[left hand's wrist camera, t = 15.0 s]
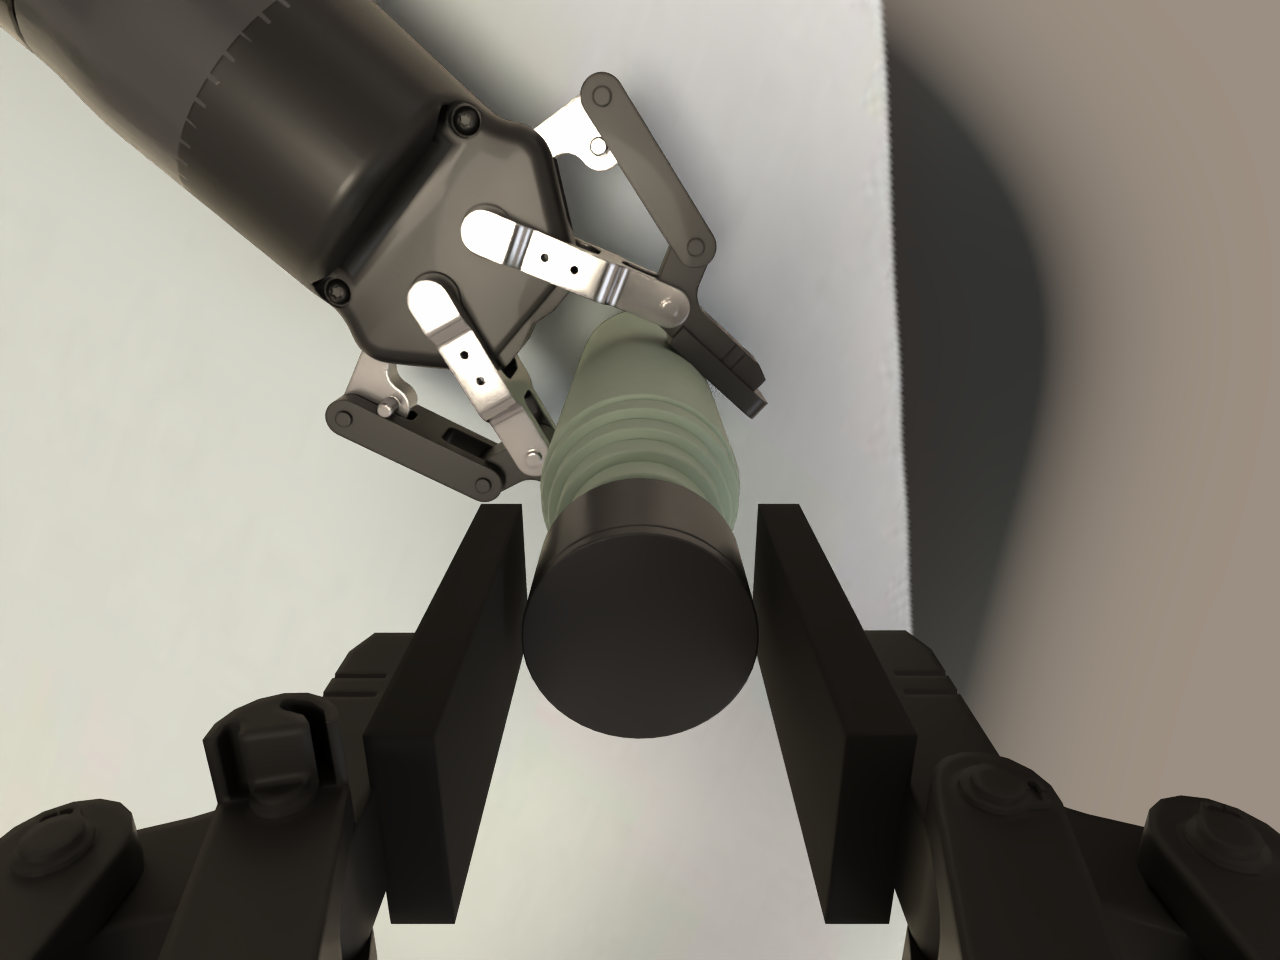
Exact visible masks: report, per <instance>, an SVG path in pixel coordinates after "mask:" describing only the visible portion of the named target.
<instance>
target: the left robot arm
mask: <svg viewBox="0 0 1280 960" xmlns="http://www.w3.org/2000/svg"><path fill="white" fill-rule="evenodd" d="M753 603H754V607H755V610H756V614H757V619H758V626H759V645H758V651H757V657H758V661H759V665H760V669H761V673H762V676H763V680H764V684H765V688H766V692H767V696H768V700H769V704H770V708H771V712H772V716H773V720H774V724H775V728H776V732H777V735H778V739H779V743H780V747H781V751H782V755H783V759H784V763H785V767H786V771H787V775H788V779H789V783H790V787H791V790H792V794H793V798H794V802H795V806H796V810H797V814H798V818H799V822H800V826H801V830H802V834H803V838H804V842H805V846H806V849H807V853H808V857H809V861H810V865H811V869H812V873H813V877H814V881H815V885H816V889H817V893H818V897H819V901H820V904H821V908H822V912H823V916H824V920H825V924H889V921H890V914H891V908H892V901H893V894H894V888H895V891H896V894H897V896H898V899H899V902H900V904H901V907H902V910H903V913H904V915H905V918H906V921H907V924H908V926H907V932H906V938H905V944H904V950H903V956H902V960H1280V834H1279V833H1278V832H1277V831H1275V830H1274V829H1273V828H1271V827H1270V826H1269V825H1268V824H1266V823H1264V822H1262V821H1260V820H1258V819H1257V818H1255V817H1253V816H1251V815H1249V814H1247V813H1245V812H1243V811H1241V810H1239V809H1238V808H1235V807H1231V806H1228V805H1226V804H1222V803H1219V802H1216V801H1213V800H1210V799H1206V798H1198V797H1190V796H1176V797H1170V798H1165V799H1160V800H1159V801H1158V802H1157V803H1156V804H1155V805H1154V806H1153V807H1152V808H1150V810H1149V813H1148V816H1147V820H1146V823H1145V826H1144V827H1142V826H1137V825H1133V824H1129V823H1124V822H1120V821H1116V820H1111V819H1107V818H1102V817H1098V816H1094V815H1089V814H1086V813H1082V812H1079V811H1076V810H1072V809H1069V808H1066V807H1064V806H1063V803H1062V802H1061V800H1060V799H1059V797H1058V796H1057V794H1056V792H1055V791H1054V789H1053V788H1052V786H1051V785H1050V784H1049V783H1047V782H1046V781H1045V780H1043V779H1042V778H1041V777H1040V776H1039V775H1037V774H1036V773H1035V772H1034V771H1032V770H1031V769H1029V768H1027V767H1025V766H1023V765H1021V764H1019V763H1017V762H1015V761H1013V760H1010V759H1008V758H1004V757H1001V756H999V754H998V753H997V751H996V750H995V748H994V747H993V745H992V743H991V742H990V740H989V739H988V737H987V736H986V734H985V732H984V731H983V729H982V728H981V726H980V725H979V723H978V722H977V720H976V719H975V717H974V715H973V714H972V712H971V711H970V709H969V708H968V706H967V704H966V703H965V701H964V700H963V698H962V697H961V695H960V694H957V689H956V687H955V686H954V684H953V683H952V681H951V679H950V678H949V676H946V675H945V670H944V669H943V667H942V665H941V664H940V662H939V661H938V659H937V658H936V656H935V654H934V653H933V651H932V650H931V649H930V648H929V647H927V646H926V645H925V644H923V643H922V642H920V641H919V640H918V639H916V638H915V637H914V636H912V635H911V634H910V633H908V632H907V631H906V630H863V628H862V626H861V624H860V622H859V620H858V618H857V616H856V614H855V612H854V610H853V609H852V607H851V605H850V603H849V601H848V599H847V597H846V595H845V593H844V591H843V589H842V587H841V585H840V583H839V581H838V579H837V577H836V575H835V573H834V572H833V570H832V568H831V566H830V564H829V562H828V560H827V558H826V556H825V554H824V552H823V550H822V548H821V546H820V544H819V542H818V540H817V538H816V537H815V535H814V533H813V531H812V529H811V527H810V525H809V523H808V521H807V519H806V517H805V515H804V513H803V511H802V509H801V507H800V505H799V504H758V517H757V534H756V552H755V569H754V586H753ZM526 604H527V586H526V569H525V552H524V534H523V517H522V504H481V505H480V507H479V509H478V511H477V513H476V515H475V517H474V519H473V521H472V523H471V525H470V527H469V529H468V531H467V533H466V535H465V537H464V538H463V540H462V542H461V544H460V546H459V548H458V550H457V552H456V554H455V556H454V558H453V560H452V562H451V564H450V566H449V568H448V570H447V572H446V574H445V575H444V577H443V579H442V581H441V583H440V585H439V587H438V589H437V591H436V593H435V595H434V597H433V599H432V601H431V603H430V605H429V607H428V609H427V610H426V612H425V614H424V616H423V618H422V620H421V622H420V624H419V626H418V628H417V630H416V632H415V633H374V634H373V635H371V636H370V637H369V638H367V639H366V640H364V641H363V642H362V643H360V644H359V645H358V646H356V647H355V648H354V649H352V650H351V651H350V652H349V653H348V654H347V656H346V658H345V659H344V661H343V662H342V664H341V665H340V667H339V669H338V670H337V672H336V673H335V678H332V680H331V681H330V683H329V684H328V686H327V687H326V689H325V691H324V692H323V693H324V694H323V697H321V696H317V695H314V694H310V693H283V694H279V695H274V696H270V697H266V698H261V699H258V700H256V701H253V702H251V703H249V704H246V705H244V706H242V707H239V708H237V709H235V710H233V711H232V712H231V713H229V714H228V715H226V716H225V717H224V718H222V719H221V720H219V721H218V722H217V723H215V724H214V726H213V727H212V728H211V729H210V731H209V732H208V733H207V735H206V736H205V737H204V739H203V744H204V748H205V753H206V757H207V761H208V765H209V769H210V773H211V777H212V782H213V786H214V790H215V794H216V798H217V802H218V805H217V807H216V810H215V811H212V812H208V813H205V814H202V815H199V816H195V817H192V818H187V819H183V820H179V821H174V822H170V823H166V824H161V825H157V826H153V827H148V828H144V829H140V830H136V826H135V823H134V819H133V816H132V813H131V812H130V811H129V810H128V809H127V808H126V807H125V806H124V805H122V804H121V803H120V802H115V801H110V800H104V799H94V800H85V801H77V802H72V803H69V804H66V805H63V806H60V807H56V808H53V809H50V810H47V811H44V812H42V813H40V814H38V815H37V816H35V817H33V818H31V819H29V820H27V821H25V822H23V823H21V824H20V825H18V826H16V827H14V828H13V829H12V830H10V831H9V832H8V833H6V834H5V835H4V836H3V837H1V838H0V960H377V952H376V945H375V938H374V932H373V925H374V922H375V919H376V917H377V914H378V911H379V908H380V906H381V903H382V900H383V897H384V895H385V892H386V894H387V901H388V908H389V914H390V921H391V924H455V920H456V916H457V912H458V908H459V905H460V901H461V897H462V893H463V889H464V885H465V881H466V877H467V873H468V869H469V865H470V861H471V857H472V853H473V849H474V846H475V842H476V838H477V834H478V830H479V826H480V822H481V818H482V814H483V810H484V806H485V802H486V798H487V794H488V791H489V787H490V783H491V779H492V775H493V771H494V767H495V763H496V759H497V755H498V751H499V747H500V743H501V739H502V735H503V732H504V728H505V724H506V720H507V716H508V712H509V708H510V704H511V700H512V696H513V692H514V688H515V684H516V680H517V676H518V673H519V669H520V665H521V661H522V657H523V648H522V640H521V635H522V622H523V616H524V611H525V608H526Z"/></svg>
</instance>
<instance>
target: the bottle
mask: <svg viewBox="0 0 1280 960" xmlns="http://www.w3.org/2000/svg"><path fill="white" fill-rule="evenodd" d="M629 478H650V479H658V480H663V481H668V482H671V483H674V484H677V485H680V486H683V487H685V488H687V489H689V490H691V491H693V492H695V493H696V494H698V495H699V496H701V497H703V498H704V499H705V500H707V501H708V502H709V503H710V504H711V505H712V506H714V507H715V508H716V510H717V511H718V512H719V513H720V514H721V515H722V516H723V518H724V519H725V521H726V522H727V524H728V525H729V527H730V528H731V531H732V530H733V527H734V524H735V521H736V517H737V511H738V499H739V483H740V482H739V473H738V467H737V464H736V460H735V457H734V454H733V451H732V448H731V445H730V443H729V440H728V437H727V434H726V432H725V429H724V426H723V423H722V421H721V418H720V415H719V412H718V410H717V407H716V404H715V401H714V399H713V396H712V393H711V390H710V388H709V385H708V382H707V379H706V378H705V377H704V376H703V375H702V374H701V373H700V372H698V370H697V369H696V368H695V367H694V366H692V365H691V364H690V363H689V362H688V361H686V360H685V359H684V358H683V357H682V356H681V355H680V354H679V353H678V352H676V351H675V350H674V349H673V348H672V347H671V346H670V345H669V344H668V340H667V334H666V332H665V331H664V330H663V329H662V328H661V327H660V326H659V325H657V324H654V323H652V322H650V321H647V320H645V319H642V318H640V317H638V316H635V315H633V314H630V313H628V312H623V313H620V314H617V315H615V316H613V317H611V318H609V319H608V320H606V321H605V322H603V323H602V324H601V325H600V326H599V327H598V328H597V329H596V330H595V331H594V332H593V334H592V335H591V336H590V338H589V340H588V342H587V344H586V346H585V348H584V351H583V354H582V357H581V359H580V362H579V365H578V368H577V371H576V373H575V376H574V379H573V382H572V385H571V387H570V390H569V393H568V396H567V399H566V401H565V404H564V407H563V410H562V412H561V415H560V418H559V421H558V424H557V426H556V429H555V432H554V435H553V438H552V440H551V443H550V446H549V449H548V452H547V454H546V457H545V460H544V463H543V468H542V473H541V485H540V487H541V500H542V512H543V516H544V521H545V524H546V527H547V530H548V531H549V529H550V527H551V526H552V524H553V522H554V521H555V520H556V518H557V517H558V516H559V514H560V513H561V512H562V511H563V510H564V509H565V508H566V507H567V506H568V505H569V504H570V503H571V502H573V501H574V500H575V499H576V498H578V497H579V496H581V495H582V494H584V493H586V492H587V491H589V490H591V489H593V488H596V487H598V486H600V485H602V484H606V483H609V482H613V481H617V480H623V479H629Z"/></svg>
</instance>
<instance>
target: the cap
mask: <svg viewBox="0 0 1280 960" xmlns="http://www.w3.org/2000/svg"><path fill="white" fill-rule="evenodd" d="M521 640H522V648H523V654H524V658H525V662H526V665H527V667H528V670H529V672H530V674H531V677H532V679H533V680H534V682H535V684H536V685H537V687H538V688H539V690H540V691H541V692H542V694H543V695H544V696H545V697H546V699H547V700H548V701H549V702H550V703H551V704H552V705H553V706H554V707H555V708H557V709H558V710H559V711H560V712H562V713H563V714H564V715H566V716H567V717H568V718H570V719H572V720H573V721H575V722H577V723H579V724H580V725H582V726H585V727H587V728H590V729H592V730H594V731H597V732H601V733H604V734H607V735H612V736H618V737H623V738H637V739H639V738H656V737H663V736H669V735H672V734H676V733H680V732H683V731H686V730H688V729H691V728H694V727H696V726H698V725H700V724H702V723H703V722H705V721H707V720H709V719H710V718H712V717H713V716H715V715H716V714H718V713H719V712H720V711H721V710H723V709H724V708H725V707H726V706H727V705H728V704H729V703H730V702H731V701H732V700H733V699H734V698H735V697H736V695H737V694H738V693H739V692H740V690H741V689H742V687H743V686H744V684H745V683H746V681H747V679H748V677H749V675H750V673H751V671H752V669H753V666H754V663H755V660H756V656H757V651H758V645H759V626H758V619H757V614H756V610H755V607H754V603H753V599H752V596H751V592H750V589H749V585H748V581H747V578H746V574H745V571H744V567H743V563H742V560H741V556H740V553H739V549H738V546H737V543H736V539H735V537H734V535H733V533H732V531H731V528H730V527H729V525H728V524H727V522H726V521H725V519H724V518H723V516H722V515H721V514H720V513H719V512H718V511H717V510H716V508H715V507H714V506H712V505H711V504H710V503H709V502H708V501H707V500H705V499H704V498H703V497H701V496H699V495H698V494H696V493H695V492H693V491H691V490H689V489H687V488H685V487H683V486H680V485H677V484H674V483H671V482H668V481H663V480H658V479H650V478H629V479H623V480H617V481H613V482H609V483H606V484H602V485H600V486H598V487H596V488H593V489H591V490H589V491H587V492H586V493H584V494H582V495H581V496H579V497H578V498H576V499H575V500H574V501H573V502H571V503H570V504H569V505H568V506H567V507H566V508H565V509H564V510H563V511H562V512H561V513H560V514H559V516H558V517H557V518H556V520H555V521H554V522H553V524H552V526H551V527H550V529H549V531H548V533H547V535H546V538H545V541H544V543H543V546H542V550H541V553H540V557H539V561H538V564H537V568H536V572H535V575H534V579H533V582H532V586H531V590H530V593H529V597H528V600H527V604H526V608H525V611H524V616H523V622H522V635H521Z"/></svg>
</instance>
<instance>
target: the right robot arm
mask: <svg viewBox="0 0 1280 960" xmlns="http://www.w3.org/2000/svg"><path fill="white" fill-rule="evenodd" d="M0 27H2V28H3V29H4V30H5V31H7V32H8V33H9V34H10V35H11V36H13V37H14V38H15V39H16V40H18V41H19V42H20V43H21V44H22V45H24V46H25V47H26V48H27V49H29V50H30V51H31V52H33V53H34V54H36V55H37V56H38V57H39V58H40V59H41V60H42V61H43V62H44V63H45V64H46V65H47V66H49V67H50V68H51V69H52V70H53V71H54V72H55V73H56V74H57V75H58V76H59V77H60V78H61V79H62V80H63V81H64V82H65V83H66V84H67V85H68V86H69V87H70V88H71V89H72V90H73V91H74V92H75V93H76V94H77V95H78V96H79V97H80V99H81V100H82V101H83V102H84V103H85V104H86V105H87V106H88V107H89V108H91V109H92V110H93V111H94V112H95V113H96V114H97V115H98V116H99V117H100V118H101V119H102V120H103V121H104V122H105V123H106V124H107V125H108V126H109V127H111V128H112V129H113V130H114V131H115V132H116V133H117V134H119V135H120V136H121V137H122V138H123V139H124V140H126V141H127V142H128V143H129V144H131V145H132V146H133V147H134V148H136V149H137V150H138V151H139V152H141V153H142V154H143V155H144V156H145V157H147V158H148V159H149V160H150V161H152V162H153V163H154V164H155V165H156V166H158V167H159V168H160V169H161V170H163V171H164V172H165V173H166V174H168V175H169V176H170V177H171V178H172V179H174V180H175V181H176V182H177V183H179V184H180V185H181V186H182V187H184V188H185V189H186V190H187V191H188V192H190V193H191V194H192V195H193V196H195V197H196V198H197V199H198V200H200V201H201V202H202V203H203V204H205V205H206V206H207V207H208V208H210V209H211V210H212V211H213V212H214V213H216V214H217V215H218V216H219V217H221V218H222V219H223V220H224V221H225V222H227V223H228V224H229V225H230V226H231V227H233V228H234V229H235V230H236V231H238V232H239V233H240V234H241V235H243V236H244V237H245V238H246V239H247V240H249V241H250V242H251V243H252V244H254V245H255V246H256V247H257V248H259V249H260V250H261V251H262V252H263V253H265V254H266V255H267V256H268V257H270V258H271V259H272V260H273V261H275V262H276V263H277V264H278V265H279V266H281V267H282V268H283V269H284V270H286V271H287V272H288V273H289V274H291V275H292V276H293V277H294V278H295V279H297V280H298V281H299V282H300V283H302V284H303V285H304V286H305V287H307V288H308V289H309V290H310V291H312V292H313V293H314V294H316V295H317V296H319V297H320V298H321V299H323V300H324V301H326V302H327V303H329V304H330V305H331V306H332V307H334V308H335V309H336V310H337V311H338V312H339V314H340V315H341V316H342V317H343V319H344V320H345V322H346V323H347V325H348V327H349V329H350V331H351V333H352V335H353V338H354V340H355V342H356V343H357V345H358V346H359V347H360V349H361V350H362V352H361V355H360V357H359V360H358V362H357V365H356V367H355V370H354V372H353V375H352V377H351V380H350V382H349V384H348V387H347V389H346V392H345V394H344V395H343V396H342V397H340V398H339V399H337V400H336V401H334V402H333V403H331V404H330V405H329V406H328V408H327V410H326V414H325V418H326V422H327V424H328V426H329V428H330V429H331V430H332V431H333V432H334V433H336V434H338V435H340V436H342V437H344V438H346V439H348V440H350V441H352V442H354V443H357V444H359V445H361V446H363V447H365V448H367V449H369V450H371V451H373V452H376V453H378V454H380V455H382V456H384V457H386V458H388V459H390V460H392V461H395V462H397V463H399V464H401V465H403V466H405V467H407V468H409V469H411V470H414V471H416V472H418V473H420V474H422V475H424V476H426V477H428V478H430V479H433V480H435V481H437V482H439V483H441V484H443V485H445V486H447V487H449V488H452V489H454V490H456V491H458V492H460V493H462V494H464V495H466V496H468V497H471V498H473V499H475V500H477V501H480V502H489V501H492V500H494V499H496V498H497V497H498V496H499V494H500V493H501V492H502V491H504V490H505V489H507V488H509V487H511V486H513V485H515V484H517V483H519V482H521V481H524V480H537V481H540V482H541V473H542V468H543V463H544V460H545V457H546V454H547V452H548V449H549V446H550V443H551V440H552V438H553V435H554V432H555V429H556V425H555V424H554V422H553V420H552V419H551V417H550V415H549V414H548V412H547V410H546V409H545V407H544V405H543V404H542V402H541V400H540V399H539V397H538V395H537V394H536V392H535V390H534V388H533V385H532V381H531V378H530V376H529V374H528V372H527V370H526V369H525V367H524V365H523V364H522V362H521V360H520V359H519V357H518V355H517V353H518V352H519V351H520V350H521V348H522V347H523V346H524V344H525V343H526V342H527V341H528V339H529V338H530V336H531V334H532V331H533V329H534V327H535V325H536V323H537V321H539V320H540V319H542V318H543V317H545V316H546V315H548V314H549V313H551V312H552V311H554V310H555V308H556V307H557V306H558V305H559V304H560V303H561V301H562V300H563V299H564V298H565V297H566V295H567V294H568V293H569V292H570V291H571V292H573V293H576V294H578V295H581V296H583V297H585V298H588V299H590V300H593V301H595V302H598V303H601V304H605V305H610V306H613V307H616V308H618V309H621V310H623V311H625V312H628V313H630V314H633V315H635V316H638V317H640V318H642V319H645V320H647V321H650V322H652V323H654V324H657V325H659V326H660V327H661V328H662V329H663V330H664V331H665V332H666V334H667V340H668V344H669V345H670V346H671V347H672V348H673V349H674V350H675V351H676V352H678V353H679V354H680V355H681V356H682V357H683V358H684V359H685V360H686V361H688V362H689V363H690V364H691V365H692V366H694V367H695V368H696V369H697V370H698V372H700V373H701V374H702V375H703V376H704V377H705V378H706V379H707V380H708V381H709V382H711V383H712V384H713V385H714V386H715V387H716V388H717V389H718V390H719V391H720V392H722V393H723V394H724V395H725V396H726V397H727V398H728V399H729V400H730V401H731V402H733V403H734V404H735V405H736V406H737V407H738V408H739V409H740V410H741V411H742V412H744V413H745V414H746V415H747V416H748V417H750V418H751V419H753V418H754V417H755V416H756V415H757V414H758V413H759V412H760V411H761V410H762V409H763V408H764V407H765V406H766V405H767V404H768V403H767V401H766V400H765V398H764V397H763V395H762V393H761V392H760V391H759V390H758V389H757V388H758V387H759V386H760V385H761V384H762V383H763V382H764V381H765V380H766V379H765V377H764V375H763V373H762V370H761V368H760V366H759V364H758V363H757V361H756V360H755V358H754V357H753V356H752V355H751V354H750V353H749V352H748V351H747V350H746V349H745V348H744V347H743V346H742V345H741V344H740V343H739V342H738V341H736V340H735V339H734V338H733V337H732V336H731V335H730V334H729V333H728V332H727V331H726V330H725V329H724V328H723V327H721V326H720V325H719V324H718V323H717V322H716V321H715V320H714V319H713V318H712V317H711V316H710V315H709V314H708V313H707V312H705V311H704V310H703V309H702V308H701V307H700V306H699V304H698V300H697V291H698V287H699V284H700V281H701V279H702V277H703V274H704V272H705V269H706V267H707V265H708V264H709V263H710V262H711V260H712V259H713V257H714V255H715V253H716V241H715V238H714V236H713V234H712V232H711V231H710V229H709V227H708V226H707V224H706V223H705V221H704V219H703V218H702V216H701V214H700V213H699V211H698V209H697V208H696V206H695V205H694V203H693V201H692V200H691V198H690V196H689V195H688V193H687V191H686V190H685V188H684V187H683V185H682V183H681V182H680V180H679V178H678V177H677V175H676V173H675V172H674V170H673V168H672V167H671V165H670V164H669V162H668V160H667V159H666V157H665V155H664V154H663V152H662V150H661V149H660V147H659V146H658V144H657V142H656V141H655V139H654V137H653V136H652V134H651V132H650V131H649V129H648V128H647V126H646V124H645V123H644V121H643V119H642V118H641V116H640V114H639V113H638V111H637V109H636V108H635V106H634V105H633V103H632V101H631V100H630V98H629V96H628V95H627V93H626V91H625V90H624V88H623V87H622V85H621V83H620V82H619V80H618V79H617V78H616V77H615V76H613V75H612V74H609V73H606V72H597V73H594V74H592V75H590V76H589V77H588V78H587V79H586V80H585V81H584V83H583V85H582V88H581V92H580V94H579V95H578V96H577V97H576V98H574V99H573V100H572V101H570V102H569V103H568V104H566V105H565V106H564V107H562V108H561V109H560V110H559V111H557V112H556V113H555V114H553V115H552V116H551V117H549V118H548V119H547V120H545V121H544V122H543V123H541V124H540V125H539V126H538V127H536V128H535V129H532V128H531V127H529V126H527V125H525V124H522V123H517V122H513V121H509V120H506V119H503V118H501V117H499V116H497V115H495V114H494V113H493V112H492V111H490V110H489V109H488V108H487V107H486V106H485V105H484V104H483V103H481V102H480V101H479V100H478V99H477V98H476V97H475V96H474V95H473V94H472V93H471V92H470V91H469V90H468V89H466V88H465V87H464V86H463V85H462V84H461V83H460V82H459V81H458V80H457V79H456V78H455V77H454V76H453V75H452V74H450V73H449V72H448V71H447V70H446V69H445V68H444V67H443V66H442V65H441V64H440V63H439V62H438V61H437V60H435V59H434V58H433V57H432V56H431V55H430V54H429V53H428V52H427V51H426V50H425V49H424V48H423V47H422V46H421V45H419V44H418V43H417V42H416V41H415V40H414V39H413V38H412V37H411V36H410V35H409V34H408V33H407V32H406V31H404V30H403V29H402V28H401V27H400V26H399V25H398V24H397V23H396V22H395V21H394V20H393V19H392V18H391V17H390V16H388V15H387V14H386V13H385V12H384V11H383V10H382V9H381V8H380V7H379V6H378V5H377V4H376V3H375V2H373V1H372V0H0ZM565 154H572V155H576V156H578V157H579V158H581V159H582V161H583V162H584V163H585V164H586V165H587V166H588V167H590V168H592V169H594V170H596V171H607V170H609V169H611V168H613V167H614V166H616V165H617V164H619V166H620V168H621V169H622V171H623V172H624V174H625V176H626V177H627V179H628V180H629V182H630V183H631V185H632V187H633V188H634V190H635V191H636V193H637V195H638V196H639V198H640V199H641V201H642V202H643V204H644V206H645V207H646V209H647V210H648V212H649V214H650V215H651V217H652V218H653V220H654V221H655V223H656V225H657V226H658V228H659V229H660V231H661V233H662V234H663V236H664V237H665V239H666V240H667V242H668V244H669V247H668V249H667V252H666V255H665V257H664V260H663V262H662V265H661V267H660V270H659V272H658V273H656V272H653V271H651V270H649V269H646V268H644V267H642V266H639V265H637V264H634V263H632V262H630V261H628V260H626V259H624V258H622V257H620V256H618V255H616V254H614V253H612V252H609V251H607V250H605V249H602V248H600V247H598V246H595V245H593V244H590V243H588V242H586V241H583V240H581V239H579V238H576V237H574V233H573V229H572V224H571V220H570V216H569V211H568V207H567V203H566V199H565V194H564V190H563V186H562V181H561V177H560V173H559V168H558V164H557V160H556V158H558V157H559V156H562V155H565ZM396 364H400V365H410V366H419V367H429V368H438V369H448V370H451V371H452V373H453V374H454V376H455V377H456V379H457V380H458V382H459V384H460V385H461V387H462V388H463V390H464V392H465V393H466V395H467V396H468V398H469V399H470V401H471V403H472V404H473V406H474V407H475V409H476V411H477V412H478V414H479V415H480V416H481V418H482V419H483V420H485V421H486V422H488V423H490V424H491V425H492V427H493V428H494V430H495V432H496V433H497V435H498V436H499V438H500V440H501V441H502V442H501V443H499V444H497V443H495V442H493V441H491V440H489V439H487V438H485V437H483V436H481V435H479V434H477V433H475V432H473V431H471V430H469V429H466V428H464V427H462V426H460V425H458V424H456V423H454V422H452V421H450V420H448V419H446V418H444V417H442V416H440V415H438V414H436V413H434V412H432V411H430V410H428V409H426V408H424V407H422V406H419V405H417V394H416V392H415V390H414V389H413V387H412V386H411V385H409V384H408V383H406V382H405V381H404V380H403V379H402V378H401V377H400V376H399V374H398V372H397V368H396ZM480 377H482V378H483V379H484V380H485V381H481V380H480Z"/></svg>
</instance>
